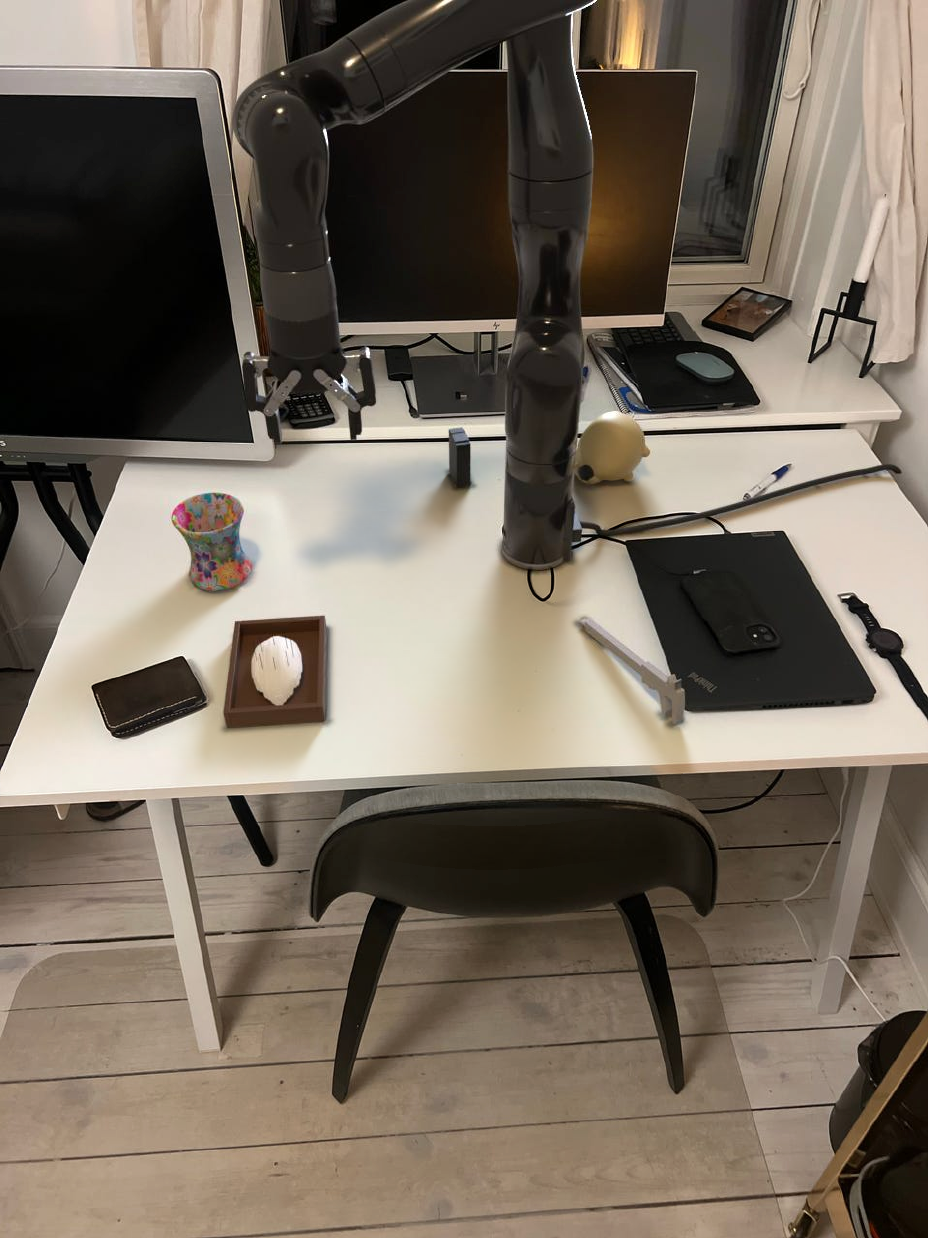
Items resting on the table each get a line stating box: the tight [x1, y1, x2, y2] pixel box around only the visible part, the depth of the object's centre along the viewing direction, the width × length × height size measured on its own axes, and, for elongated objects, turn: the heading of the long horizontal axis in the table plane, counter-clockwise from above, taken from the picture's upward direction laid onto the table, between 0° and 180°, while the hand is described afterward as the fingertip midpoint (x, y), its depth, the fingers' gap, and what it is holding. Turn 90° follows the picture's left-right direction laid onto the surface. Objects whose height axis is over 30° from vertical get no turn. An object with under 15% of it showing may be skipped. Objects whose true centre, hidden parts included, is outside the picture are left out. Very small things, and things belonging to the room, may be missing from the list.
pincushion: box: [251, 633, 302, 705], centre depth 116 cm, size 12×6×6 cm, turn 10°
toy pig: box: [574, 410, 651, 485], centre depth 148 cm, size 10×12×11 cm
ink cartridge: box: [448, 426, 472, 489], centre depth 148 cm, size 5×2×8 cm, turn 14°
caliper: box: [578, 618, 686, 724], centre depth 117 cm, size 20×1×6 cm, turn 28°
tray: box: [222, 615, 328, 729], centre depth 117 cm, size 11×16×3 cm
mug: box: [171, 492, 252, 591], centre depth 130 cm, size 12×9×11 cm
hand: (316, 438), depth 110 cm, fingers open, 8 cm apart
